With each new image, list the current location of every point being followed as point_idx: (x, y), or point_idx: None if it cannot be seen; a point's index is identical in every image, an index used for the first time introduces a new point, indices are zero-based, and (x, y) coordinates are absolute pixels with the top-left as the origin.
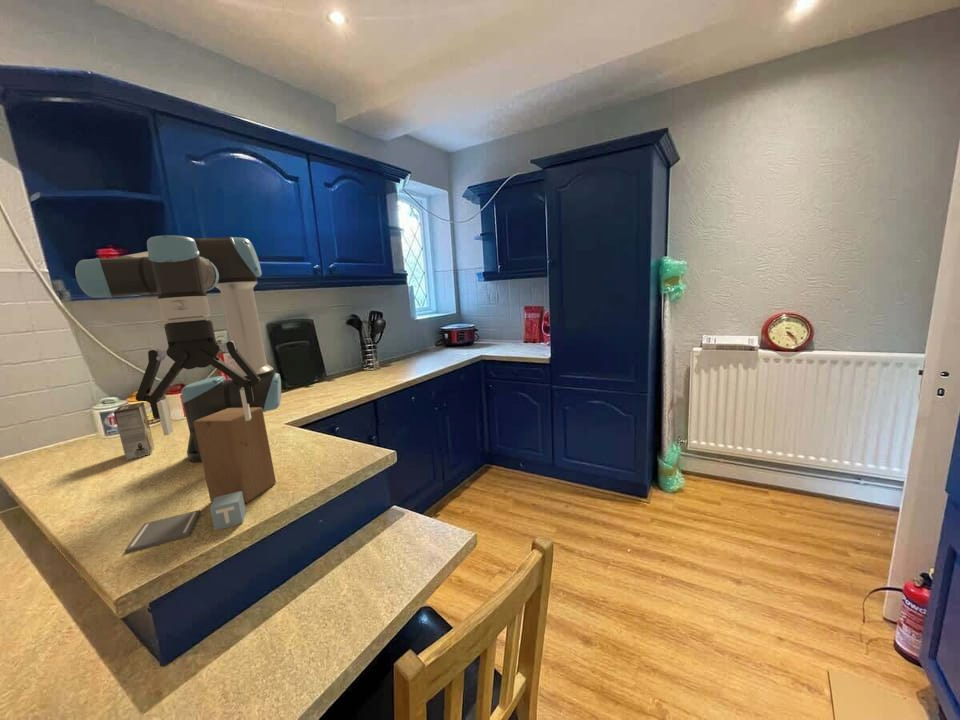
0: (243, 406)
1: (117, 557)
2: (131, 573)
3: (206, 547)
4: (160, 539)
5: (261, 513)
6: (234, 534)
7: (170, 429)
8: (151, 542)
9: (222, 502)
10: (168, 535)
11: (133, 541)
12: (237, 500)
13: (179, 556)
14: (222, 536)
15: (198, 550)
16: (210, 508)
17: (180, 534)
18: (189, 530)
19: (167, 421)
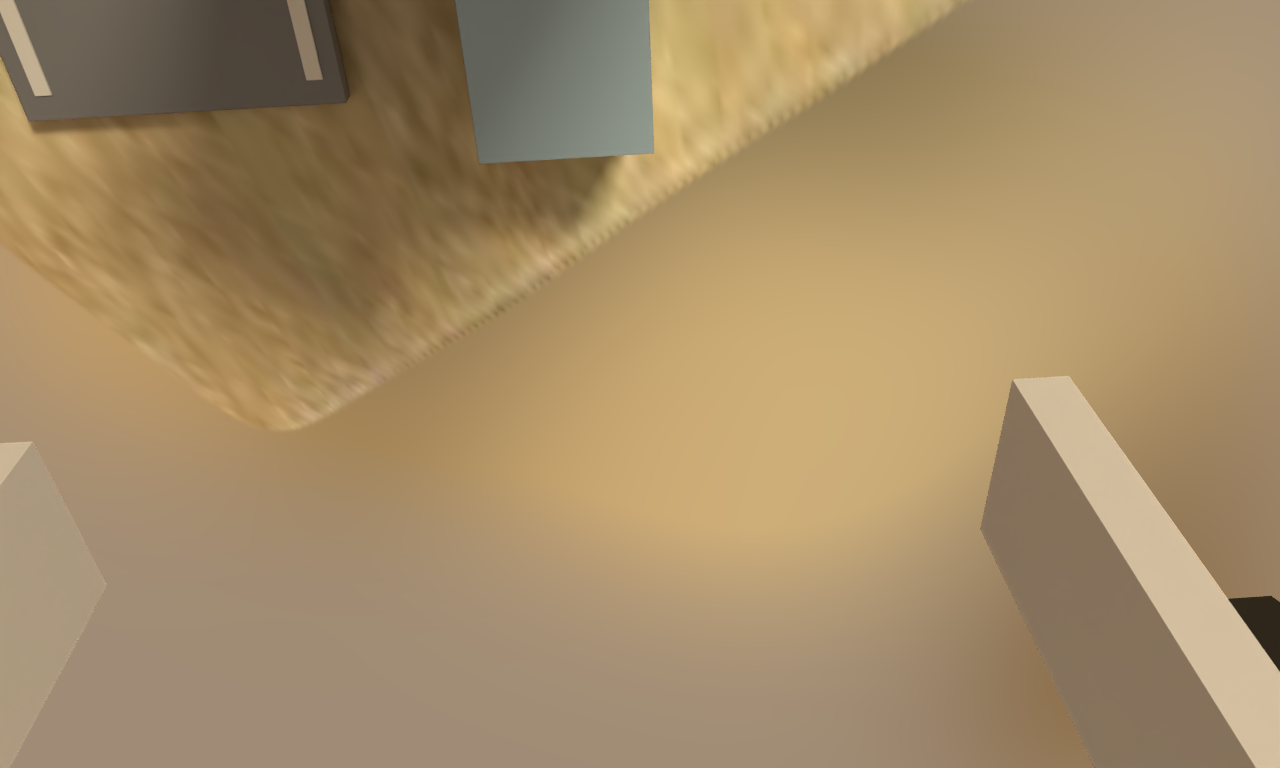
0: (1073, 701)
1: (20, 140)
2: (222, 322)
3: (506, 262)
4: (194, 93)
5: (746, 20)
6: (622, 203)
7: (45, 544)
8: (154, 105)
9: (544, 113)
10: (222, 67)
11: (5, 30)
12: (645, 133)
13: (395, 282)
14: (560, 193)
15: (474, 271)
16: (483, 161)
17: (301, 93)
18: (338, 66)
19: (2, 690)
